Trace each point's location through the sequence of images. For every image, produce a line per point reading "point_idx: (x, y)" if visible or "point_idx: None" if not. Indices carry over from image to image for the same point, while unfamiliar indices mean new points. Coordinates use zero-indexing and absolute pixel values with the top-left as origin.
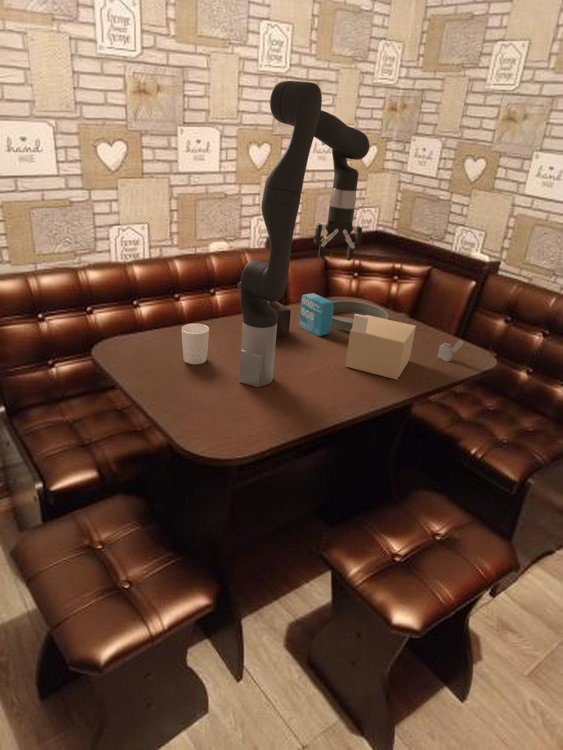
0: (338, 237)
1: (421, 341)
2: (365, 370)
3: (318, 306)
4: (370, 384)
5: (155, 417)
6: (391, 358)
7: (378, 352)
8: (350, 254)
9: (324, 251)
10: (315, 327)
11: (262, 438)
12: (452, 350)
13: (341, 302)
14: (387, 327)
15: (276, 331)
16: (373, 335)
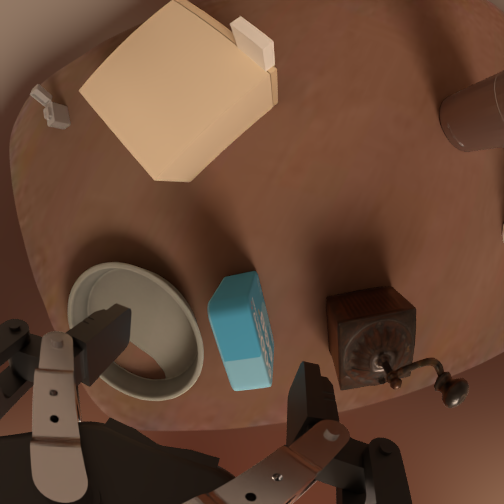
0: (158, 460)
1: (57, 198)
2: None
3: (254, 316)
4: (264, 32)
5: None
6: None
7: None
8: (100, 318)
9: (305, 392)
10: (259, 294)
11: (468, 4)
12: (51, 98)
13: (138, 393)
14: (151, 77)
15: (365, 296)
16: (227, 31)
